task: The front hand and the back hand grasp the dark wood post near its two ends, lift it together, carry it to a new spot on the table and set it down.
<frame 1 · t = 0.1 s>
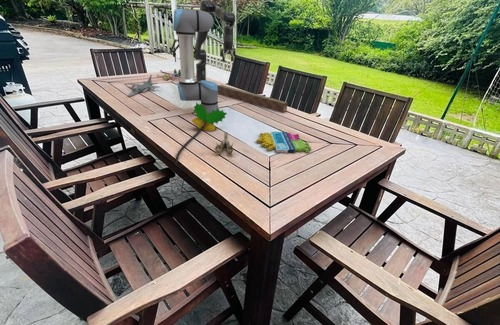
front hand: (184, 61, 211), 28 cm above the table, tool pointing down, fingers open, 13 cm apart
back hand: (227, 61, 220), 29 cm above the table, tool pointing down, fingers open, 8 cm apart
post: (249, 101, 222), on the table
toy: (171, 77, 283), on the table
ornament: (209, 128, 165), on the table
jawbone: (224, 151, 138), on the table
pack of gloves: (281, 143, 152), on the table
airplane: (143, 91, 230), on the table
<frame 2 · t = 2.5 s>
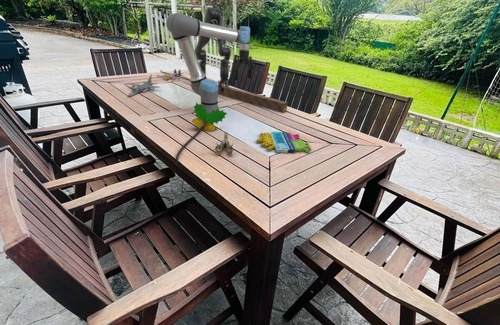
front hand: (243, 79, 204), 20 cm above the table, tool pointing down, fingers open, 13 cm apart
back hand: (224, 91, 236), 3 cm above the table, tool pointing down, fingers closed on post, 5 cm apart
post: (249, 101, 222), on the table, touching back hand
everything else where it was.
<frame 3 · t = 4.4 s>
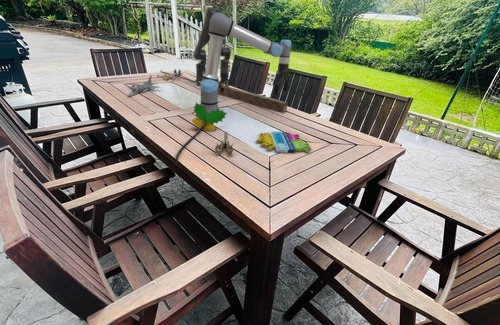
front hand: (280, 92, 200), 14 cm above the table, tool pointing down, fingers open, 13 cm apart
back hand: (224, 91, 236), 3 cm above the table, tool pointing down, fingers closed on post, 5 cm apart
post: (249, 101, 222), on the table, touching back hand
everything else where it was.
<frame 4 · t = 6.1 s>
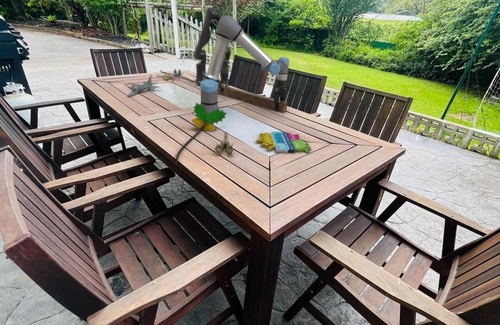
front hand: (278, 109, 206), 1 cm above the table, tool pointing down, fingers closed on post, 5 cm apart
back hand: (224, 91, 236), 3 cm above the table, tool pointing down, fingers closed on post, 5 cm apart
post: (249, 101, 222), on the table, touching front hand, back hand
everything else where it was.
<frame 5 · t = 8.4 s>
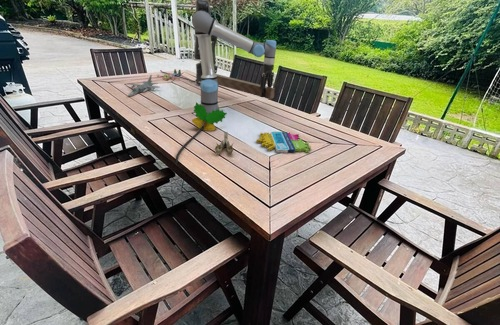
front hand: (265, 96, 198), 11 cm above the table, tool pointing down, fingers closed on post, 5 cm apart
back hand: (211, 78, 227), 14 cm above the table, tool pointing down, fingers closed on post, 5 cm apart
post: (236, 88, 213), point 11 cm above the table, touching front hand, back hand
everything else where it was.
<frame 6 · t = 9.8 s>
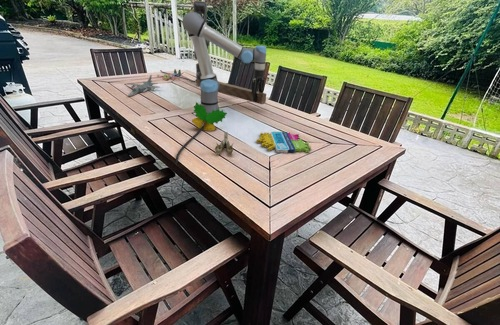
front hand: (257, 101, 198), 8 cm above the table, tool pointing down, fingers closed on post, 5 cm apart
back hand: (203, 83, 227), 10 cm above the table, tool pointing down, fingers closed on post, 5 cm apart
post: (228, 94, 213), point 7 cm above the table, touching front hand, back hand
everything else where it was.
when the front hand's fingers open (2 cm above the table, at t = 10.9 s): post drops 1 cm, on the table.
when the back hand's fingers open (4 cm above the table, at t = 11.0 s): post stays where it is, on the table.
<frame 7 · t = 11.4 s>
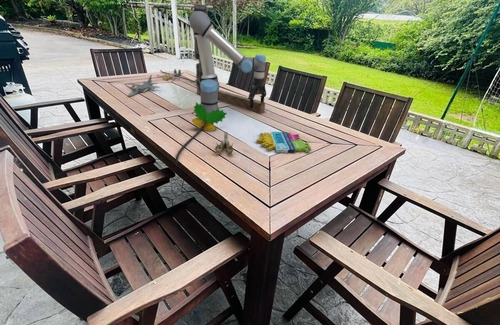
front hand: (256, 106, 200), 4 cm above the table, tool pointing down, fingers open, 13 cm apart
back hand: (203, 89, 230), 5 cm above the table, tool pointing down, fingers open, 8 cm apart
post: (228, 102, 217), on the table
everything else where it was.
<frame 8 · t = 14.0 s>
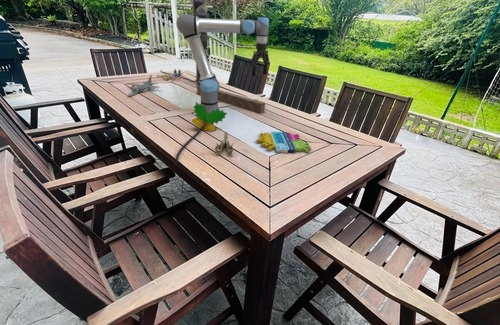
front hand: (259, 75, 188), 27 cm above the table, tool pointing down, fingers open, 13 cm apart
back hand: (203, 61, 218), 28 cm above the table, tool pointing down, fingers open, 8 cm apart
nothing on the table moved.
at the end: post inside the target area (0.4 cm from its centre), on the table; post tilted 0°; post never tilted more than 1° during the clip; both hands held the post at the same time; the front hand is holding nothing; the back hand is holding nothing; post at rest at the end (0.0 cm/s) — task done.
